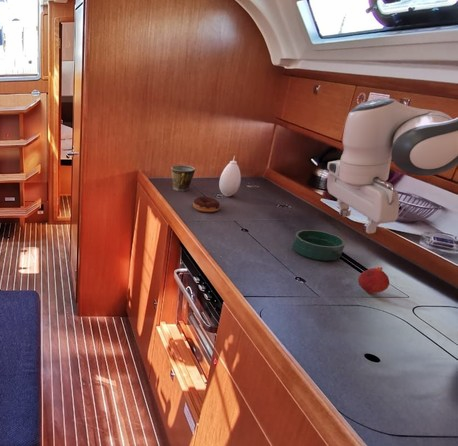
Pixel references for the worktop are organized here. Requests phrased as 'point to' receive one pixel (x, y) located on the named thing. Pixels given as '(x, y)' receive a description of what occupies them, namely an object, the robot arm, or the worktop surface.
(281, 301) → the worktop surface
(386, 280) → the red pomegranate
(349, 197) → the robot arm
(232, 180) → the white tall oval
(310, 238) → the bowl
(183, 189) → the ceramic cup
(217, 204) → the donut
